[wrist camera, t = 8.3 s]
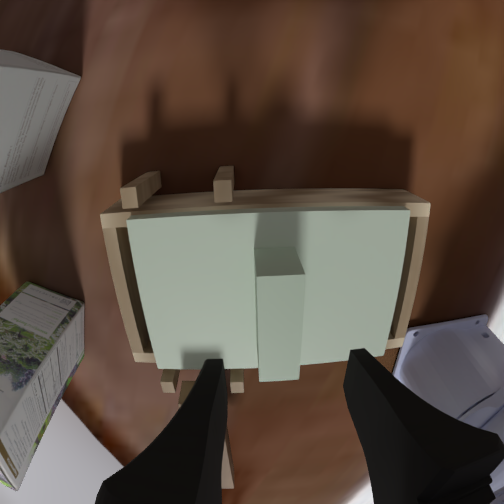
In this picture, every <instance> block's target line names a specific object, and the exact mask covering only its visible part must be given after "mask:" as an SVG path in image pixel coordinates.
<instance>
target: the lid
mask: <svg viewBox="0 0 504 504" xmlns="http://www.w3.org/2000/svg"><path fill="white" fill-rule="evenodd" d="M409 219H410V210H409V209H408V208H406V207H404V206H324V207H281V208H252V209H228V210H208V211H189V212H173V213H158V214H143V215H131V216H130V217H129V218H128V219H127V220H126V222H127V228H128V235H129V241H130V247H131V252H132V258H133V263H134V269H135V274H136V279H137V284H138V289H139V293H140V298H141V303H142V307H143V312H144V316H145V320H146V324H147V328H148V333H149V337H150V341H151V344H152V348H153V352H154V356H155V360H156V363H157V367H158V369H202V367H203V364H204V361H205V360H206V359H223V362H224V369H241V368H258V370H259V382H267V381H283V380H296V379H299V371H300V365H307V364H317V363H327V362H337V361H345V360H348V359H349V354H350V350H352V349H361V348H365V349H366V350H367V351H368V352H369V353H370V354H371V355H372V356H373V357H375V356H382V355H384V352H385V348H386V344H387V340H388V336H389V332H390V328H391V324H392V319H393V315H394V310H395V305H396V300H397V295H398V290H399V285H400V280H401V274H402V268H403V262H404V256H405V249H406V242H407V235H408V227H409Z"/></svg>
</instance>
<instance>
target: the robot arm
mask: <svg viewBox="0 0 504 504" xmlns="http://www.w3.org/2000/svg"><path fill="white" fill-rule="evenodd" d="M487 321H488V316H487V315H486V314H484V315H479V316H474V317H469V318H464V319H458V320H453V321H447V322H442V323H436V324H430V325H423V326H417V327H411V328H408V329H407V331H406V335H405V338H404V342H403V346H402V347H400V350H399V354H398V357H397V360H396V364H395V367H394V370H393V373H392V374H391V373H390V372H389V371H388V370H387V369H386V368H385V367H384V366H383V365H382V364H381V363H380V362H379V361H377V360H376V359H375V358H374V357H373V356H372V355H371V354H370V353H369V352H368V351H367V350H366V349H365V348H361V349H352V350H350V354H349V359H348V364H347V369H346V374H345V379H344V384H343V388H344V392H345V397H346V401H347V406H348V409H349V412H350V415H351V417H352V420H353V423H354V426H355V428H356V431H357V434H358V437H359V439H360V442H361V445H362V448H363V451H364V454H365V457H366V462H367V466H368V471H369V476H370V481H371V487H372V493H373V499H374V504H504V344H503V343H502V342H501V341H500V340H499V339H498V338H497V337H496V335H495V334H494V333H493V332H492V331H491V330H490V329H489V328H488V327H487V326H486V324H487ZM415 332H416V333H415ZM226 425H227V387H226V379H225V371H224V362H223V359H206V360H205V361H204V364H203V367H202V369H201V371H200V373H199V375H198V378H197V379H196V381H195V383H194V385H193V387H192V389H191V390H190V392H189V394H188V396H187V397H186V399H185V401H184V402H183V404H182V405H181V407H180V408H179V410H178V411H177V413H176V414H175V416H174V417H173V418H172V420H171V421H170V422H169V423H168V425H167V426H166V427H165V428H164V430H163V431H162V432H161V433H160V434H159V435H158V436H157V437H156V438H155V440H154V441H153V442H152V443H151V444H150V445H149V446H148V447H147V448H146V449H145V450H144V451H143V452H141V453H140V454H139V455H138V456H137V457H136V458H134V459H133V460H132V461H131V462H130V463H129V464H127V465H126V466H125V467H123V468H122V469H121V470H119V471H118V472H116V473H115V474H113V475H112V476H110V477H109V478H107V479H106V480H104V481H103V483H102V485H101V487H100V490H99V492H98V494H97V497H96V501H95V504H222V486H221V472H222V459H223V451H224V442H225V434H226Z"/></svg>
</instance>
